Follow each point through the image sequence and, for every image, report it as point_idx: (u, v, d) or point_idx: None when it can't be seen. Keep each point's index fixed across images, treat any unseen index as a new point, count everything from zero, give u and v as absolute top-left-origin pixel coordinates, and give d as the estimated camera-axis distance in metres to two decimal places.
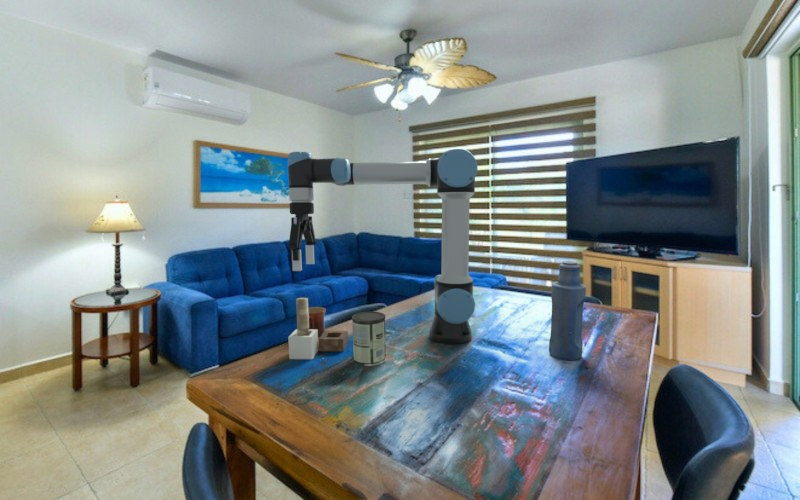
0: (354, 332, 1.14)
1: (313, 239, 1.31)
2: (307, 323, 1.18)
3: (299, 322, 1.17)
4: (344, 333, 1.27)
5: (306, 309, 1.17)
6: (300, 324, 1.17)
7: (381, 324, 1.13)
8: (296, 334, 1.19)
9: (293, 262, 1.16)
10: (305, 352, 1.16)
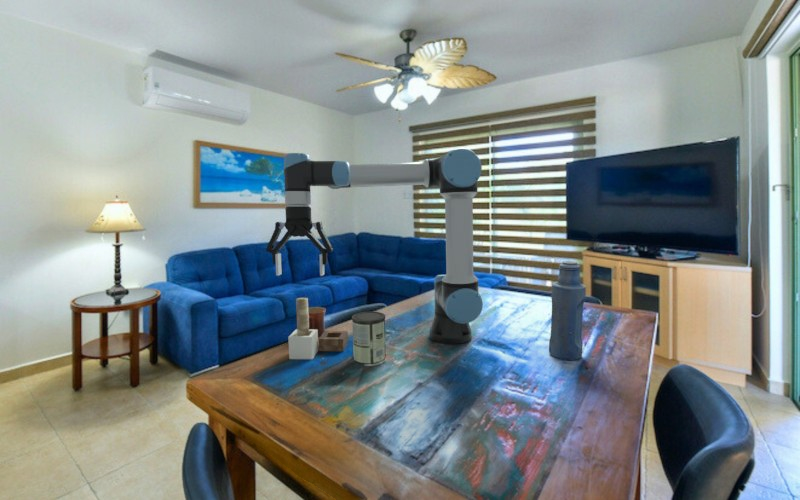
0: (354, 332, 1.14)
1: (326, 248, 1.14)
2: (307, 323, 1.18)
3: (299, 322, 1.17)
4: (344, 333, 1.27)
5: (306, 309, 1.17)
6: (300, 324, 1.17)
7: (381, 324, 1.13)
8: (296, 334, 1.19)
9: None
10: (305, 352, 1.16)
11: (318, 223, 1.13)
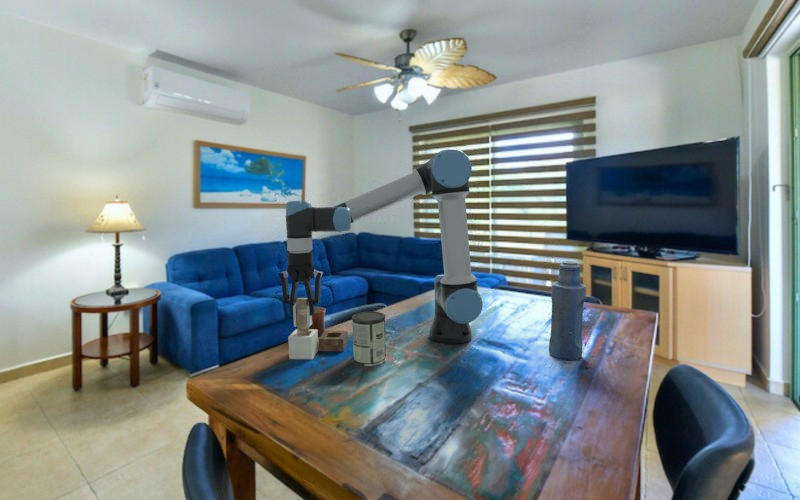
0: (354, 332, 1.14)
1: None
2: None
3: (299, 322, 1.17)
4: (344, 333, 1.27)
5: (306, 309, 1.17)
6: (300, 324, 1.17)
7: (381, 324, 1.13)
8: (296, 334, 1.19)
9: None
10: (305, 352, 1.16)
11: (319, 274, 1.15)
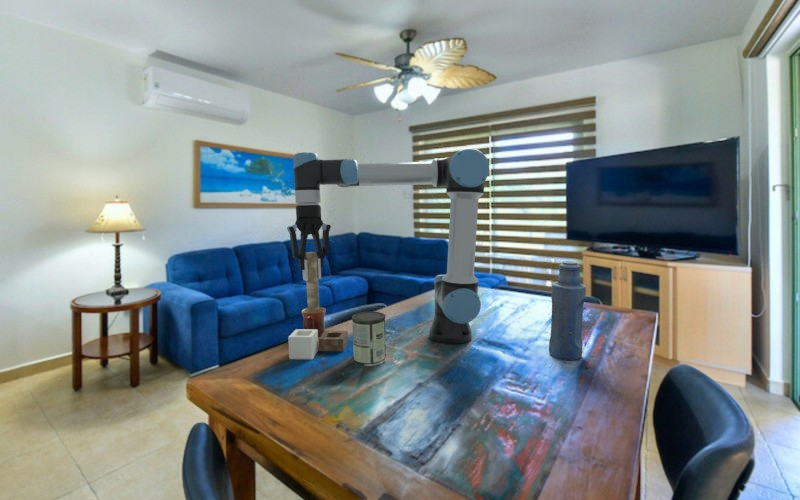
0: (354, 332, 1.14)
1: (324, 251, 1.19)
2: (317, 276, 1.19)
3: (311, 275, 1.17)
4: (344, 333, 1.27)
5: (316, 262, 1.18)
6: (313, 277, 1.17)
7: (381, 324, 1.13)
8: (296, 334, 1.19)
9: (303, 271, 1.18)
10: (305, 352, 1.16)
11: (329, 226, 1.19)
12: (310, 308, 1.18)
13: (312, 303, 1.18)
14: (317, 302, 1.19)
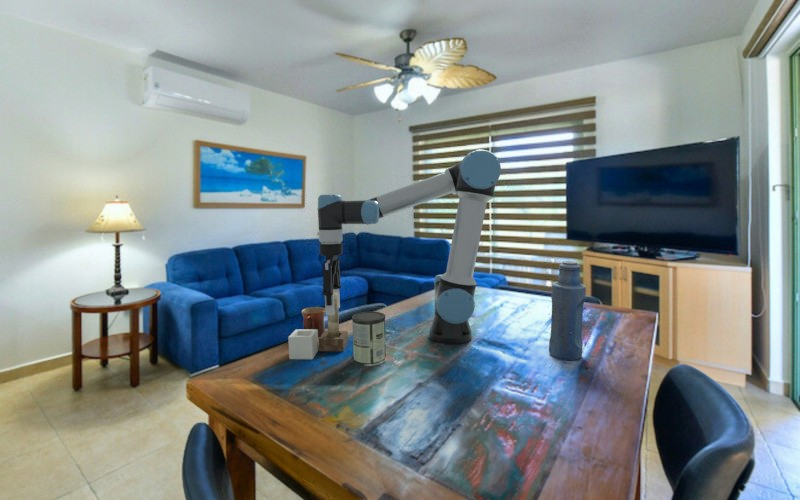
0: (354, 332, 1.14)
1: (338, 281, 1.30)
2: None
3: (337, 315, 1.24)
4: (344, 333, 1.27)
5: None
6: (338, 316, 1.24)
7: (381, 324, 1.13)
8: (296, 334, 1.19)
9: (326, 307, 1.20)
10: (305, 352, 1.16)
11: (339, 259, 1.29)
12: None
13: None
14: None
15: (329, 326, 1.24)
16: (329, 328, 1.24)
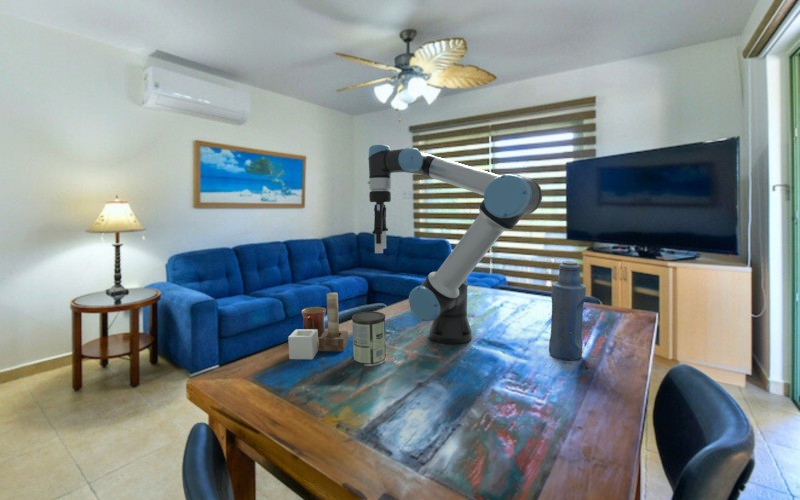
0: (354, 332, 1.14)
1: None
2: None
3: (337, 314, 1.24)
4: (344, 333, 1.27)
5: None
6: None
7: (381, 324, 1.13)
8: (296, 334, 1.19)
9: (376, 245, 1.27)
10: (305, 352, 1.16)
11: None
12: None
13: None
14: None
15: (329, 326, 1.24)
16: (329, 328, 1.24)
